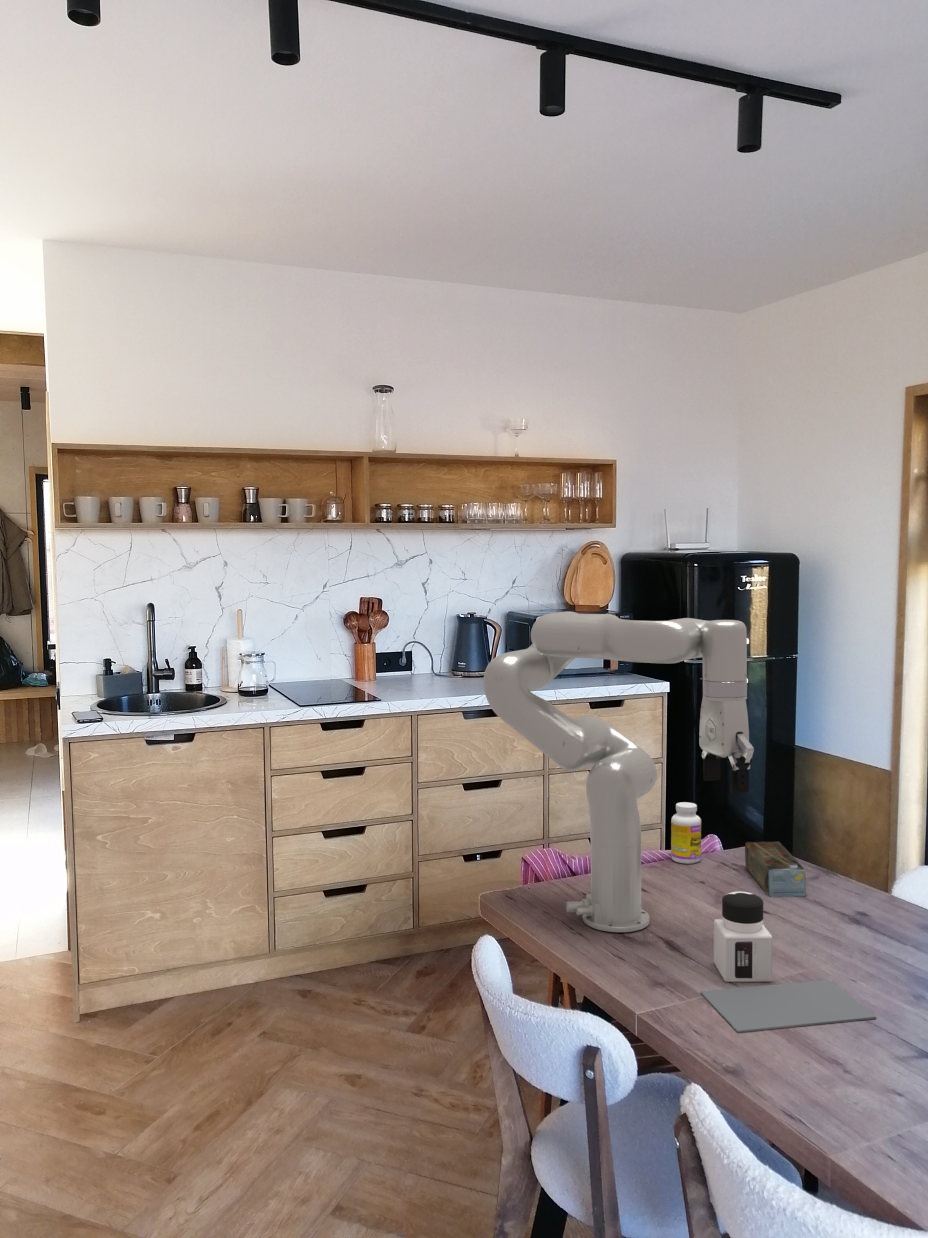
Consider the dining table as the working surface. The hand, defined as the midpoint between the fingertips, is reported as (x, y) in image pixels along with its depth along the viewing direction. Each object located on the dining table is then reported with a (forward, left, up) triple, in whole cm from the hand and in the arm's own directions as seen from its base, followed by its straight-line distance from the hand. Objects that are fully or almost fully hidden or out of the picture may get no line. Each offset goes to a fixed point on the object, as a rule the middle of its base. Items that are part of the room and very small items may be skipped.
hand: (725, 786), depth 170 cm
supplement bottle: (+12, +46, -29) cm, 56 cm away
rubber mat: (-2, -25, -28) cm, 38 cm away
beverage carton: (+25, +29, -29) cm, 48 cm away
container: (-3, -12, -29) cm, 31 cm away
